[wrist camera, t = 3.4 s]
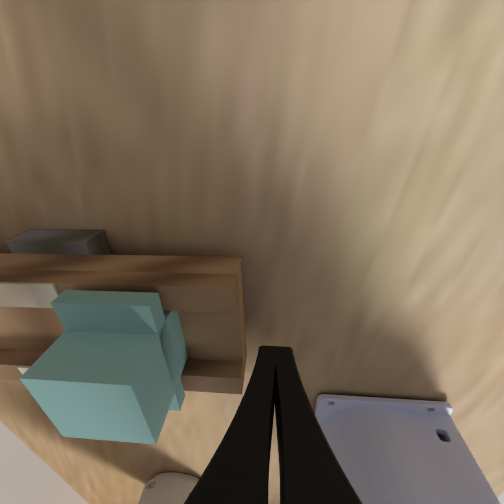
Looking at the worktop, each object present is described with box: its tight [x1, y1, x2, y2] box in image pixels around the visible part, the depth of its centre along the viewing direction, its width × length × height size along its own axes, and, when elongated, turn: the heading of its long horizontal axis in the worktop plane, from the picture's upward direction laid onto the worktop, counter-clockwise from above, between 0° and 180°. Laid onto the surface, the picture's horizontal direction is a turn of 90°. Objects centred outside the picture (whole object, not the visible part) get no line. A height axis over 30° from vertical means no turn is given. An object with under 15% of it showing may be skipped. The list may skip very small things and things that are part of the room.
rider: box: [19, 290, 188, 445], centre depth 11 cm, size 4×7×4 cm, turn 2°
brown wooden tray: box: [0, 230, 247, 394], centre depth 14 cm, size 20×8×5 cm, turn 92°
